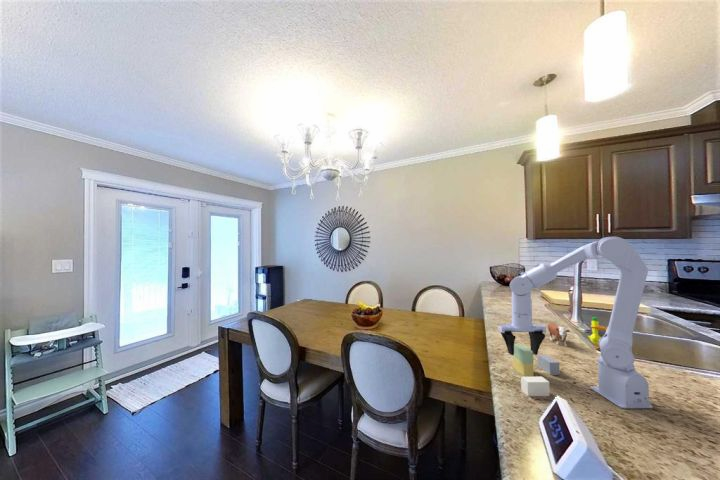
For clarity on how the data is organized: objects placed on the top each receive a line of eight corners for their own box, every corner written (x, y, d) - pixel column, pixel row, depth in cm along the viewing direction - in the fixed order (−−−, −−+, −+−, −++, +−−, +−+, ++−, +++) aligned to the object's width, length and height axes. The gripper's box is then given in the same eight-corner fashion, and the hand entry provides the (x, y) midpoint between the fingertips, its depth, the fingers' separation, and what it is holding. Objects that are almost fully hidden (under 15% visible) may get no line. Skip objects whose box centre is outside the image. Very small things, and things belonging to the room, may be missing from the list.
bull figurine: (559, 349, 102) (559, 328, 102) (546, 337, 115) (545, 319, 115) (572, 350, 101) (572, 329, 101) (557, 338, 114) (557, 319, 114)
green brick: (533, 363, 82) (532, 351, 82) (523, 363, 82) (523, 351, 82) (521, 355, 88) (521, 344, 88) (513, 355, 88) (512, 344, 88)
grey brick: (559, 374, 83) (559, 362, 83) (550, 375, 83) (549, 362, 83) (546, 366, 89) (546, 354, 89) (537, 366, 89) (537, 354, 89)
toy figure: (610, 349, 102) (609, 318, 102) (609, 351, 99) (608, 320, 99) (587, 344, 106) (586, 315, 107) (586, 347, 104) (585, 317, 104)
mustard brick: (533, 376, 82) (533, 363, 82) (524, 376, 82) (523, 364, 82) (522, 367, 88) (521, 355, 88) (513, 367, 88) (512, 355, 88)
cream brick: (542, 390, 75) (541, 376, 75) (549, 396, 72) (549, 382, 72) (521, 390, 75) (520, 376, 75) (527, 396, 72) (527, 382, 72)
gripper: (535, 309, 89) (536, 348, 89) (493, 309, 90) (494, 349, 89) (550, 314, 82) (551, 357, 82) (504, 315, 83) (505, 358, 82)
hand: (522, 353), depth 85 cm, fingers open, 7 cm apart
